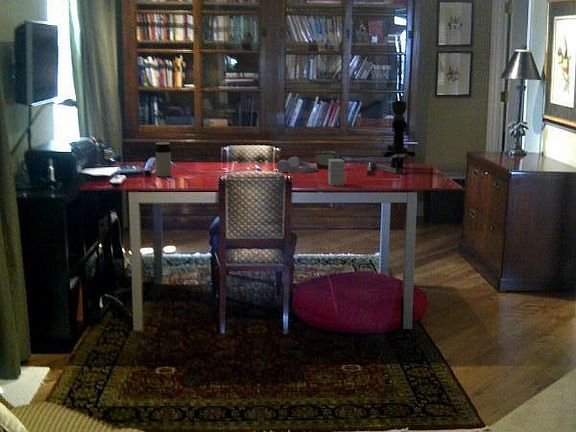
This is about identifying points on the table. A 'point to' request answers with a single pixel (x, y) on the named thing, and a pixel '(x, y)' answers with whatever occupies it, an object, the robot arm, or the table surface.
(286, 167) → the headphones
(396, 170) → the tongs arm
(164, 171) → the travel mug
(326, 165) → the food container
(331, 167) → the supplement box
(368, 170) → the tongs base
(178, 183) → the table surface
